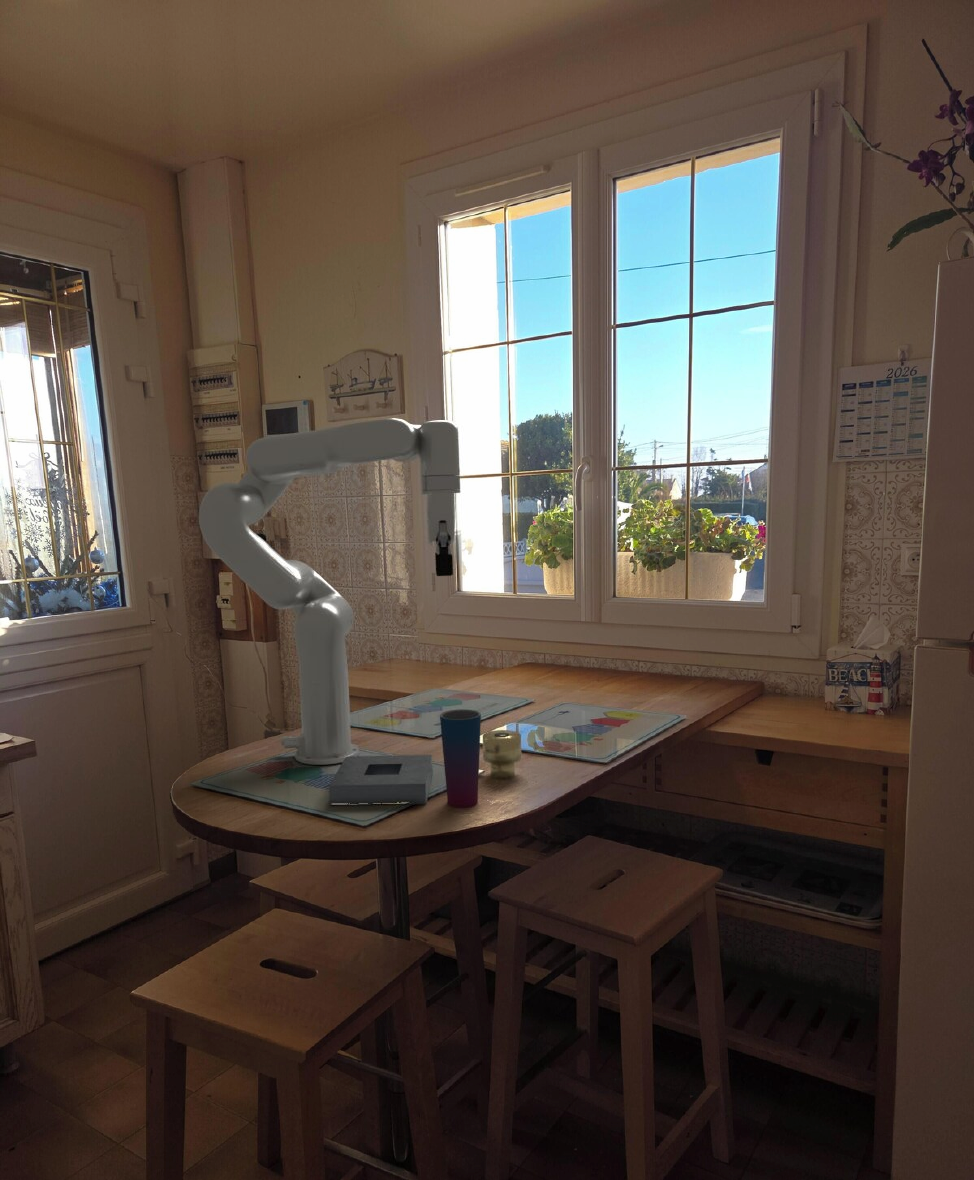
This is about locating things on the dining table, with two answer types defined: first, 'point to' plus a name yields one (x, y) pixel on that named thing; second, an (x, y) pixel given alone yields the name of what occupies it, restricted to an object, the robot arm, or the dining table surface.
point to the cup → (461, 755)
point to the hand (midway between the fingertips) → (444, 573)
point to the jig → (382, 779)
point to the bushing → (502, 752)
